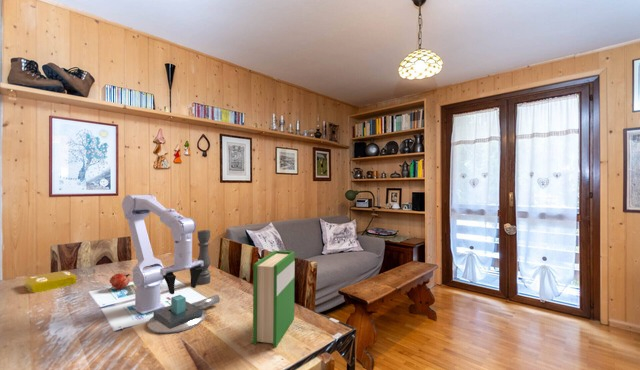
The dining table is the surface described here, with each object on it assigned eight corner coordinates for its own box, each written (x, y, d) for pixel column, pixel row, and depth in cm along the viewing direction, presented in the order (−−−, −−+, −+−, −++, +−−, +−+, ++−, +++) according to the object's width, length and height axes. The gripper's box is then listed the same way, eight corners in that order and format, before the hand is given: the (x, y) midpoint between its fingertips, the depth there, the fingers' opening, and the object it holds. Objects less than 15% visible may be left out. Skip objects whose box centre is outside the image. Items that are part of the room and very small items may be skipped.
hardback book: (276, 347, 81) (276, 265, 81) (252, 344, 83) (253, 264, 83) (294, 319, 99) (294, 251, 99) (274, 317, 100) (275, 250, 100)
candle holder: (199, 280, 138) (199, 230, 138) (211, 280, 138) (212, 230, 138) (194, 284, 131) (195, 232, 132) (208, 284, 132) (208, 232, 132)
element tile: (77, 284, 132) (77, 274, 132) (33, 294, 120) (33, 283, 120) (66, 278, 140) (66, 269, 140) (23, 287, 127) (23, 277, 127)
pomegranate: (108, 298, 121) (129, 283, 123) (98, 284, 121) (119, 269, 123) (118, 293, 128) (138, 279, 130) (109, 280, 129) (128, 266, 130)
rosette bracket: (138, 322, 95) (138, 310, 95) (204, 299, 115) (205, 289, 115) (162, 340, 85) (162, 327, 85) (231, 311, 104) (231, 300, 104)
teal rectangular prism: (171, 317, 97) (171, 297, 97) (179, 314, 99) (179, 294, 99) (176, 320, 95) (176, 300, 95) (185, 317, 97) (185, 297, 97)
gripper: (167, 258, 91) (166, 299, 91) (208, 250, 103) (207, 287, 103) (157, 254, 96) (157, 294, 96) (198, 247, 107) (197, 282, 107)
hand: (182, 290), depth 99 cm, fingers open, 7 cm apart
